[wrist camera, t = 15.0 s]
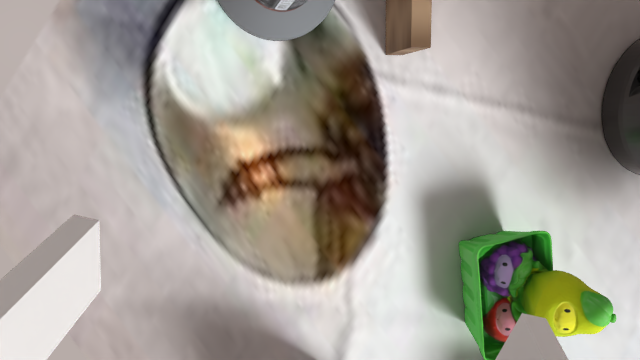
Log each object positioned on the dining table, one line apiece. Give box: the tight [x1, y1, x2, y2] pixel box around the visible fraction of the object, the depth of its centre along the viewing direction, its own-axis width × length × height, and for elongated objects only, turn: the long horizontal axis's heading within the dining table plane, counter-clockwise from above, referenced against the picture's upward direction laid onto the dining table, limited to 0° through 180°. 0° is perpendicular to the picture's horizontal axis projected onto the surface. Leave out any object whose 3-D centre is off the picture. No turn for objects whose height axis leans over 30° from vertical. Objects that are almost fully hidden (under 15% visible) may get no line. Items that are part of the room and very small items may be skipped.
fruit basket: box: [459, 231, 616, 360], centre depth 38 cm, size 11×9×11 cm
